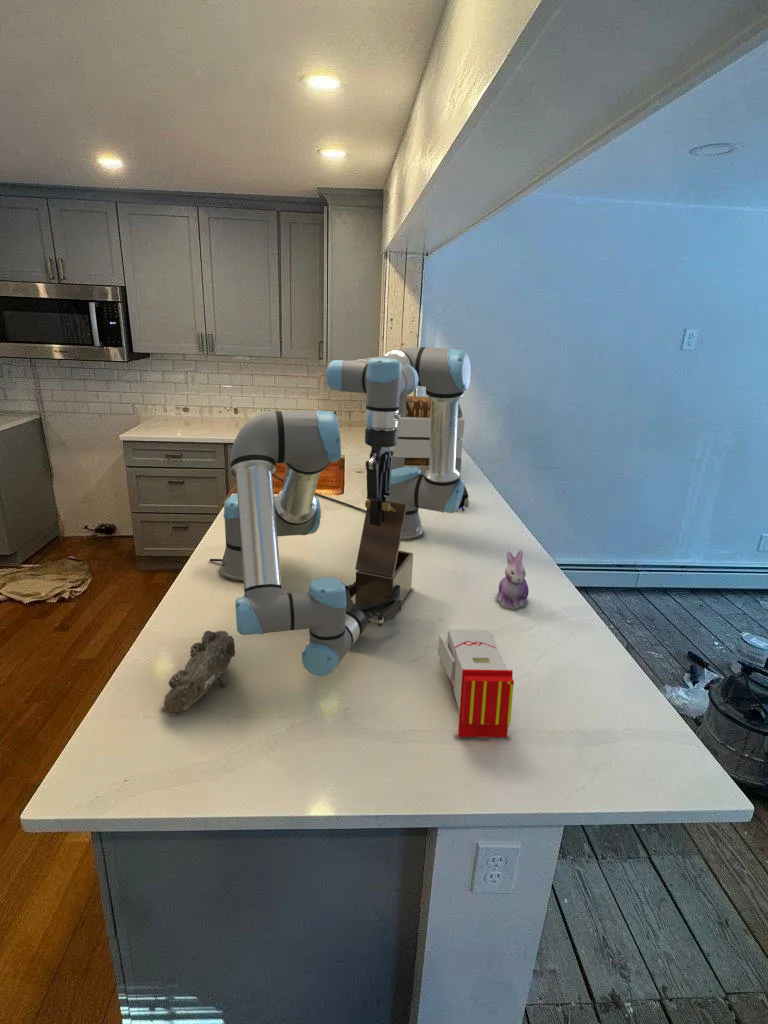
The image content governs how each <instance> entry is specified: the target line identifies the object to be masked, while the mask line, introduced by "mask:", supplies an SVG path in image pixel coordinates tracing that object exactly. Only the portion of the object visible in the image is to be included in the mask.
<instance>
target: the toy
mask: <svg viewBox="0 0 768 1024" xmlns="http://www.w3.org/2000/svg"><path fill="white" fill-rule="evenodd" d="M446 640H447V643H446V641H445V639H444V636H443V635H442V634H439V637H438V646H437V656H438V657H439V659H440V661H441V663H442V666H443V668H444V670H445V672H446V674H447V677H448V679H449V681H450V684H451V687H452V690H453V693H454V697H455V701H456V705H457V708H458V711H459V714H458V715H459V716H458V730H457V731H458V732H457V737H458V738H508V731H509V726H510V725H511V717H512V707H513V697H514V696H513V695H514V684H515V680H514V679H513V673H514V671H513V670H512V669H508V667H507V665H506V662H505V661H504V659H503V658H502V655H501V653H500V651H499V649H498V647H497V643H496V639H495V637H494V635H493V634H491V632H490V631H489V629H467V628H466V629H465V628H463V629H461V628H460V629H459V628H448V630H447V639H446Z"/></svg>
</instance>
